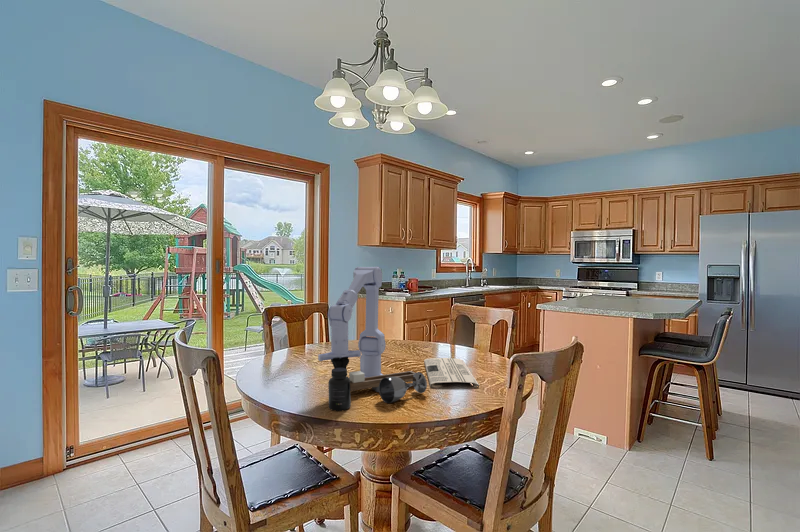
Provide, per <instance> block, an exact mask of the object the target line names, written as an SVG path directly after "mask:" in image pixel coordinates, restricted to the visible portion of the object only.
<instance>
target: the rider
mask: <svg viewBox="0 0 800 532" xmlns="http://www.w3.org/2000/svg"><path fill="white" fill-rule="evenodd" d="M348 378H349V379H350V381H352V383H357V382H364V381H365V374H364V373H363V372H361V371H360V370H357V371H356V370H355V371H349V372H348Z"/></svg>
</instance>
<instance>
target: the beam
mask: <svg viewBox="0 0 800 532" xmlns="http://www.w3.org/2000/svg"><path fill="white" fill-rule="evenodd" d="M415 373H416V372H415V371H412V370H409V371H401V372H394V373H389V374H383V375H379V376H372V377H365V381H364V382H357V383H352V381H350V390H351V392H352V391H358V390H359V391H360V390H365V389H372V390H373V391H374V392H375V393H379V383H380V381H381V380H382V379H383V378H386V377H399V378H401V379H403V380H404V381H405V382H406V383H413V376H414V374H415Z"/></svg>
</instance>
